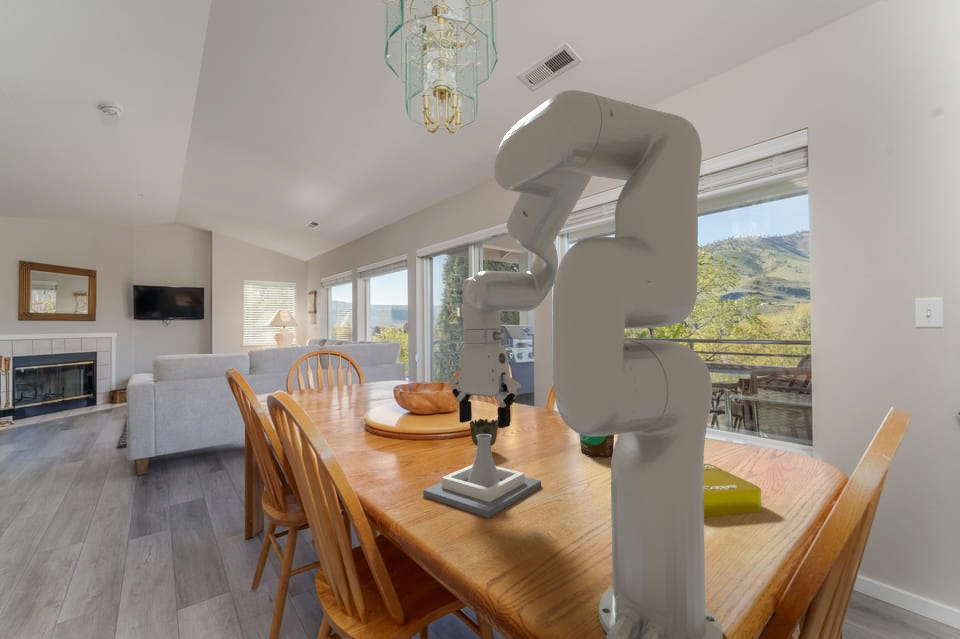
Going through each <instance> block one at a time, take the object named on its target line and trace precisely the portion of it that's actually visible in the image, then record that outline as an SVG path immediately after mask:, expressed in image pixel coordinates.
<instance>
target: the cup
mask: <svg viewBox="0 0 960 639" xmlns="http://www.w3.org/2000/svg"><path fill="white" fill-rule="evenodd" d="M469 426H470V435H471V436H470V437H471V440H472V443H473V445H475V446H476V447H477V446H478V440H477V438H476V435H478V434H490V435H491V436H492V438H491V439H490V447H491V448H492V447H493V446H494V445H495V443H496V440H497V437H498V428H499V427H498V419H497V420H495V419H491V421H489V420H488V419H487V418H485V419H482V418H479V419H478V420H476V419H474V420H471V421H469Z"/></svg>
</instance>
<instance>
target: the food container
mask: <svg viewBox="0 0 960 639" xmlns="http://www.w3.org/2000/svg"><path fill="white" fill-rule="evenodd" d="M578 434H579V433H578ZM579 443H580V452H582V453H581V454H583V455H584V454H585V456H587V455H588V457H590V456H591V457H592V458H597V457H599V459H610V458H609V457H611V458H612V455H613V450H614V446H615V435H608V436H598V437H592V436H585V435H582V434H579Z"/></svg>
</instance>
